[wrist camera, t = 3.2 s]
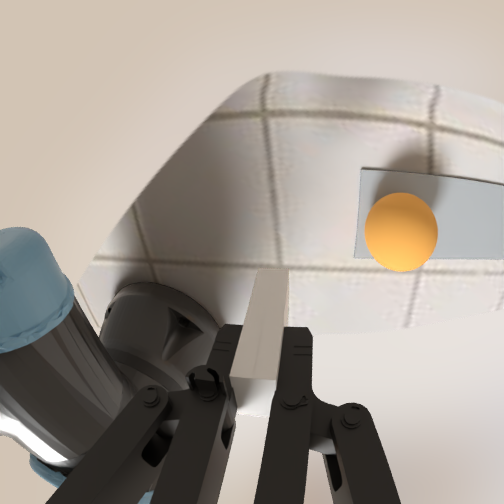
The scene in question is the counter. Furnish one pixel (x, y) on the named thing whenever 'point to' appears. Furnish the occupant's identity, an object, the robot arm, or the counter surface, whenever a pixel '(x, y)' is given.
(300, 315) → the counter surface
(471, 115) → the counter surface
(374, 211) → the ball
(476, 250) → the lane mark
